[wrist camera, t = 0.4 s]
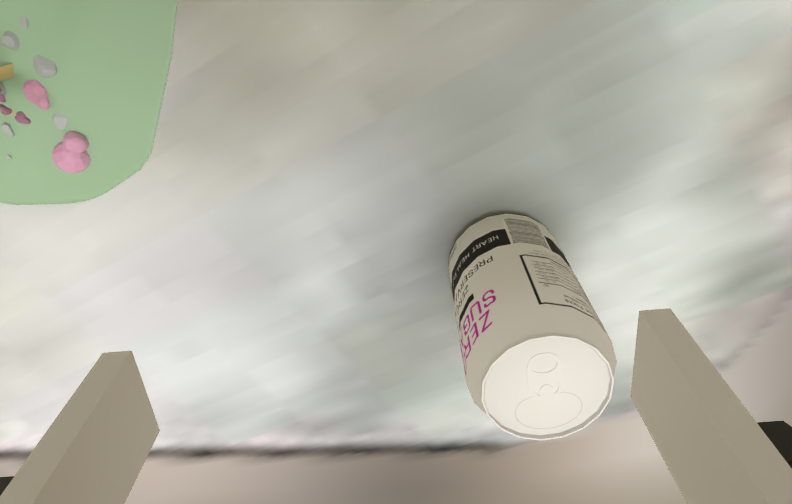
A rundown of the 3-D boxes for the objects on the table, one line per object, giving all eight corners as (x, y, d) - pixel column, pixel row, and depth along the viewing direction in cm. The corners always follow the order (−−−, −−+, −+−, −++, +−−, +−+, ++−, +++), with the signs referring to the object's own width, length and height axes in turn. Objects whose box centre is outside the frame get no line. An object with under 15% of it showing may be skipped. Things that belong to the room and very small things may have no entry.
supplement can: (561, 297, 47) (627, 436, 33) (455, 314, 48) (479, 457, 34) (553, 201, 43) (624, 314, 30) (439, 221, 44) (458, 340, 31)
